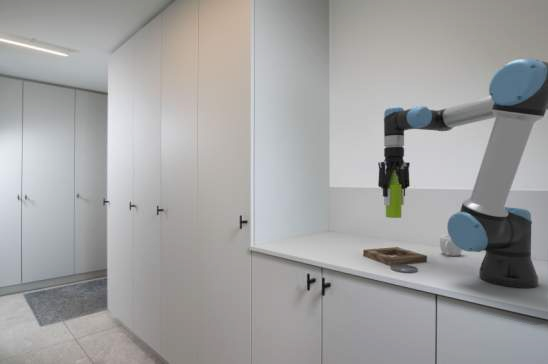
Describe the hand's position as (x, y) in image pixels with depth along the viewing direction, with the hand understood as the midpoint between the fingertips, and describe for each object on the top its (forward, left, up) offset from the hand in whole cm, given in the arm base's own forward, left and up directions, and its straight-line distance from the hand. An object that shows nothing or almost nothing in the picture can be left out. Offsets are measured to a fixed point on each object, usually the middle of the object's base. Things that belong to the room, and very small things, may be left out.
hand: (394, 204), depth 131 cm
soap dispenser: (0, 0, -5) cm, 5 cm away
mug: (-3, -26, -22) cm, 34 cm away
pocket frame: (0, 0, -22) cm, 22 cm away
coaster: (-14, +7, -22) cm, 27 cm away
